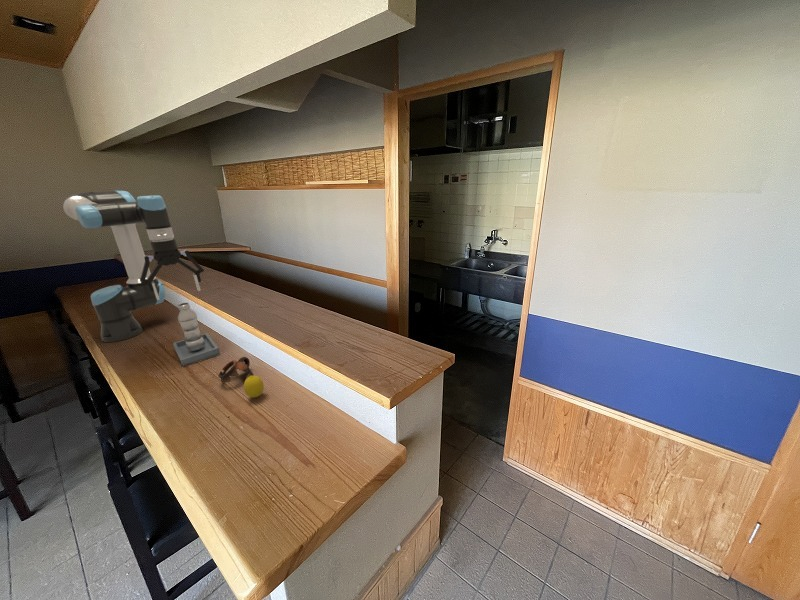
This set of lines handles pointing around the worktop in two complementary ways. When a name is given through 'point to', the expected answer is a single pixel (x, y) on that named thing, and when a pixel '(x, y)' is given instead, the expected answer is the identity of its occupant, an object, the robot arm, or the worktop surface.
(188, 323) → the plastic bottle
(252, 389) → the lemon
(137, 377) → the worktop surface
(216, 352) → the tray
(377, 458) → the worktop surface
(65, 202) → the robot arm
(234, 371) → the brown irregular piece
